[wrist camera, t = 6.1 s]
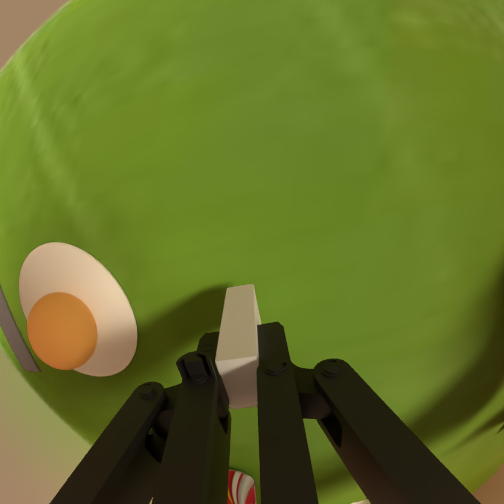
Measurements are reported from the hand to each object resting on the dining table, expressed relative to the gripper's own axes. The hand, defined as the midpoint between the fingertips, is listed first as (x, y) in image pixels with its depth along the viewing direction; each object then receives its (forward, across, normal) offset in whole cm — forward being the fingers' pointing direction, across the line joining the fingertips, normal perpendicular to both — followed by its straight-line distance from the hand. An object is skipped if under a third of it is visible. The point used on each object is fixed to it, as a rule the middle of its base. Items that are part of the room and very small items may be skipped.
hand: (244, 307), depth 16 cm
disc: (+2, +14, 0) cm, 14 cm away
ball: (-1, +13, 0) cm, 13 cm away
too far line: (+2, +24, 0) cm, 24 cm away
